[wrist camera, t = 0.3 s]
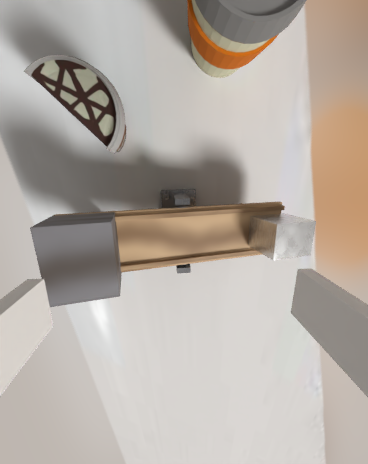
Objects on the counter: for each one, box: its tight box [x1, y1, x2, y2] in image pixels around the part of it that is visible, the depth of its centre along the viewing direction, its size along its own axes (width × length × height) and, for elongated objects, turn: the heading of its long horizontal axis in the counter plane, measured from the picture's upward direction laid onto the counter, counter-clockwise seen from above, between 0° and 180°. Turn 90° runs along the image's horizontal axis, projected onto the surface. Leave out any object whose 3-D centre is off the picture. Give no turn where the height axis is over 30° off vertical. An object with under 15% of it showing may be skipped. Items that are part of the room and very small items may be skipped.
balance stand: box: [162, 190, 195, 273], centre depth 33 cm, size 12×18×10 cm, turn 91°
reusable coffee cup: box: [187, 0, 306, 78], centre depth 24 cm, size 13×12×15 cm
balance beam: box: [30, 202, 285, 307], centre depth 27 cm, size 9×32×8 cm, turn 91°
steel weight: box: [248, 213, 316, 260], centre depth 30 cm, size 5×6×6 cm
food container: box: [24, 55, 126, 154], centre depth 28 cm, size 12×6×10 cm, turn 46°
